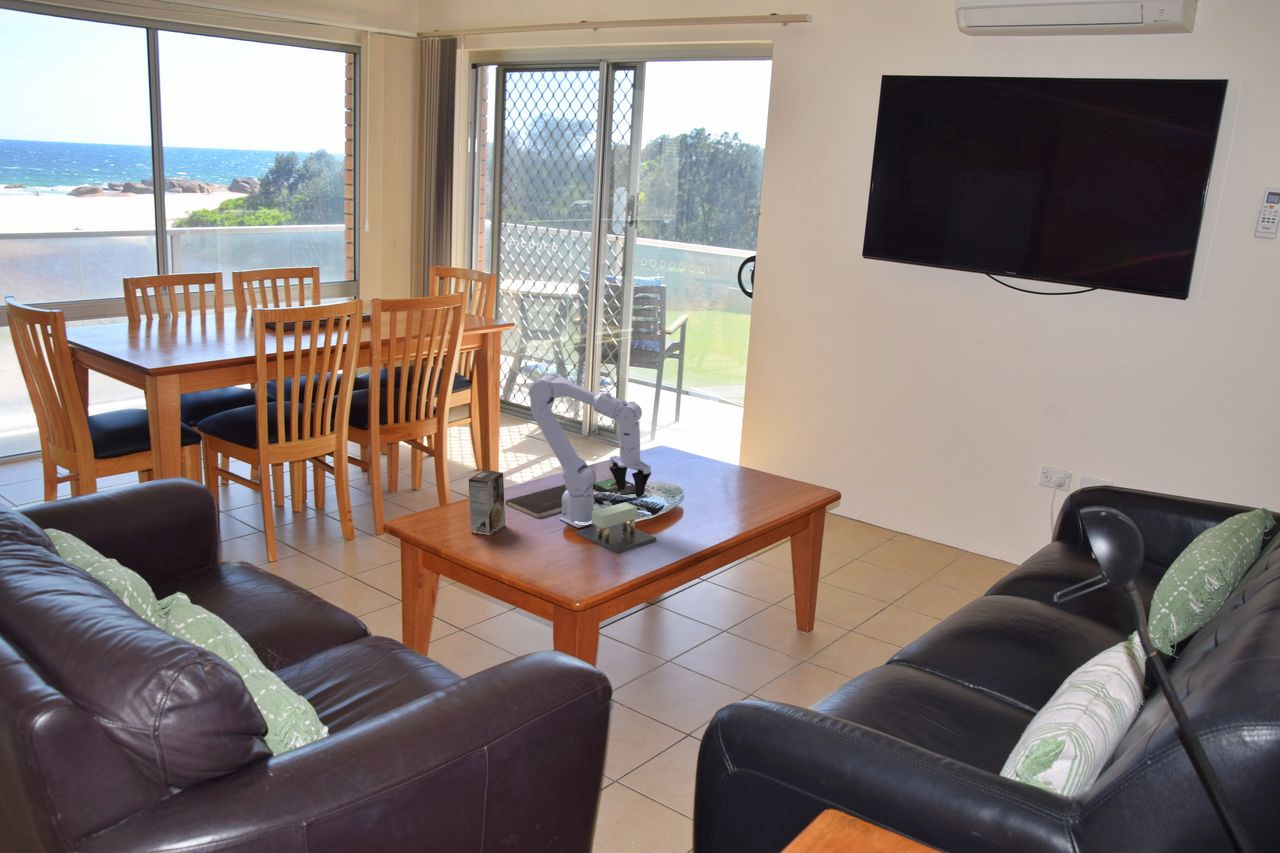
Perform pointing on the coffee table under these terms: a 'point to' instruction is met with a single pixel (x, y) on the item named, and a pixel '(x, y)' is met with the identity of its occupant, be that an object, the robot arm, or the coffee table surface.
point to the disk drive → (614, 487)
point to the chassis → (617, 536)
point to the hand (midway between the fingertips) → (630, 492)
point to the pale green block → (614, 515)
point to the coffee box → (487, 501)
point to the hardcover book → (540, 502)
